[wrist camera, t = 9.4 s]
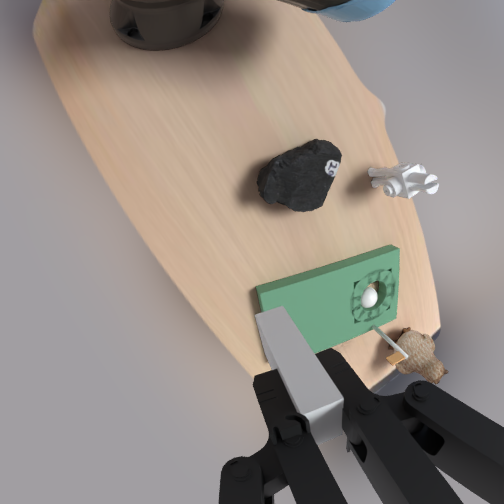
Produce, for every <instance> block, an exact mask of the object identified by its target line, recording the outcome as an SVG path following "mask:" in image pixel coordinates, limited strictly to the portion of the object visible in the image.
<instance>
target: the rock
mask: <svg viewBox="0 0 504 504" xmlns="http://www.w3.org/2000/svg"><path fill="white" fill-rule="evenodd" d="M341 156H342V154H341V152H340V150H339V149H338V148H337V147H336V146H334V145H333V144H332V143H331V142H329V141H326V140H318V139H314V140H312V141H310V142H308V143H307V144H306V145H304V146H302V147H296V148H294V149H293V150H289V151H287V152H285V153H284V154H282V155H281V156H280V155H279V156H277V157H275V158H273V159H272V160H271V161H270V162H269V164H268V165H267V166H266V167H264V168H262V169H261V171H260V173H259V176H258V180H257V185H258V186H259V189H258V191H259V192H260V196H261V197H262V198H263V199H264V200H265V201H266V202H267V203H269V204H274V203H276V202H278V203H280V204H283V205H286V206H287V207H288V208H290V209H292V210H293V211H298V212H299V211H301V212H306V211H313V210H314V209H317V208H319V207H322V206H323V202H324V201H325V198H326V196H327V192H328V191H329V189H330V187H331V184H332V182H333V180H334V178H335V175H336V172H337V170H338V168H339V165H340V162H341Z"/></svg>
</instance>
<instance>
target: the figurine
mask: <svg viewBox="0 0 504 504" xmlns="http://www.w3.org/2000/svg"><path fill="white" fill-rule="evenodd" d="M393 342H394V343H395V344H397V345H398V346H399V347H400V348H401V349H402V350H403V351H404V352H405V353H406V354H407V355H408V358H407V359H404V360H402V361H400V362H398V363H396V364H395V365H396V368H397V369H398V370H399V371H400V372H401V373H403V374H410V373H412V372H416V373H419V374H421V375H422V376H423V377H424V378H425V379H426V380H427V381H428V382H431V383H433V382H434V383H435V384H438V383H439V381H440V379H441V377H442V376H443V375H444V374H447V373H448V371H447V370H445V368H444V366H443V364H442V362H440V361H439V360H438V359H437V358H436V357H435V356H434V350H435V345H434V342H433V340H432V338H431V337H430V336H429V335H427V334H423V335H422V334H421V333H419V332H417V331H414V330H411V331H410V328H408V329H406V328H404V329H403V333H402V335H401V336H400V338H399V339H398V340H396V341H394V340H393ZM388 349H393V350H394V352H393V354H394V353H396V352H398V351H396V350H395V349H394V348H393V347H392V346H391V345H390V347H389V348H388Z"/></svg>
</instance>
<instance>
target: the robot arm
mask: <svg viewBox="0 0 504 504" xmlns="http://www.w3.org/2000/svg"><path fill="white" fill-rule="evenodd" d="M278 1H281V2H284V3H287V4H291V5H293V6H296V7H299V8H301V9H302V10H304V11H306V12H309V13H318V14H321V15H323V16H326V17H329V18H331V19H334V20H337V21H342V22H351V21H361V20H365V19H367V18H370V17H372V16H374V15H376V14H378V13H380V12H381V11H383V10H384V9H386V8H387V7H388V6H390V5H391V4H392V3H393V2H394V1H395V0H278ZM223 5H224V0H112V1H111V6H110V20H111V23H112V26H113V28H114V30H115V32H116V33H117V35H118V36H119V37H120V38H121V39H122V40H123V41H124V42H126V43H127V44H129V45H131V46H134V47H137V48H140V49H146V50H166V49H172V48H177V47H180V46H183V45H186V44H189V43H191V42H193V41H195V40H197V39H199V38H200V37H202V36H203V35H205V34H206V33H207V32H208V31H209V30H211V29H212V27H213V26H214V25H215V24H216V22H217V21H218V19H219V17H220V15H221V12H222V9H223ZM255 318H256V322H257V326H258V329H259V333H260V337H261V341H262V345H263V348H264V352H265V355H266V357H267V360H268V362H269V364H270V366H271V369H272V370H271V371H268V372H265V373H262V374H259V375H256V376H255V377H254V382H253V387H254V390H255V393H256V396H257V399H258V402H259V405H260V408H261V410H262V414H263V416H264V419H265V422H266V425H267V428H268V431H269V439H268V441H267V443H266V445H265V446H264V447H263V448H262V449H261V450H260V451H258V452H256V453H255V454H253V455H252V456H250V457H242V456H241V457H236V458H233V459H231V460H229V461H228V462H227V463H226V464H225V465H224V466H223V468H222V471H221V479H220V492H219V504H274V494H275V493H277V492H278V491H280V490H282V489H283V488H285V487H286V486H288V485H289V486H290V489H291V491H292V494H293V496H294V498H295V501H296V503H297V504H348V503H347V502H346V500H345V498H344V496H343V494H342V492H341V490H340V488H339V486H338V484H337V483H336V481H335V479H334V477H333V475H332V473H331V471H330V470H329V467H328V465H327V464H326V462H325V460H324V457H323V455H322V453H321V451H320V450H319V448H318V446H317V445H319V444H321V443H324V442H326V441H329V440H331V439H333V438H336V437H338V436H340V435H342V431H343V430H344V432H345V434H346V435H347V447H346V449H347V452H350V449H351V450H352V452H353V454H354V455H355V457H356V459H357V460H358V462H359V464H360V466H361V467H362V469H363V471H364V472H365V474H366V476H367V477H368V479H369V481H370V483H371V484H372V486H373V488H374V489H375V491H376V493H377V494H378V496H379V497H380V499H381V501H382V503H383V504H463V503H462V501H461V500H460V498H459V497H458V496H457V494H456V493H455V492H454V490H453V489H452V488H451V486H450V485H449V484H448V482H447V481H446V480H445V478H444V477H443V476H442V475H441V473H440V472H439V471H438V470H437V468H436V467H438V468H439V469H440V470H442V471H443V472H444V473H446V474H447V475H449V476H450V477H452V478H453V479H454V480H456V481H457V482H459V483H460V484H462V485H463V486H464V487H466V488H467V489H469V490H470V491H472V492H473V493H475V494H476V495H478V496H479V497H481V498H482V499H484V500H486V501H487V502H489V503H490V504H504V427H502V426H501V425H499V424H497V423H495V422H494V421H492V420H491V419H489V418H487V417H485V416H484V415H482V414H481V413H479V412H477V411H475V410H474V409H472V408H471V407H469V406H467V405H466V404H464V403H463V402H461V401H459V400H458V399H456V398H454V397H453V396H451V395H450V394H448V393H446V392H445V391H443V390H442V389H440V388H438V387H437V386H435V385H433V384H432V383H430V382H427V381H416V382H413V383H411V384H410V385H408V387H407V389H406V390H405V392H403V393H399V394H395V395H391V396H379V395H377V394H374V393H372V392H371V391H369V390H368V388H367V387H366V386H365V385H364V383H363V382H362V381H361V379H360V378H359V377H358V375H357V374H356V373H355V372H354V370H353V369H352V368H351V366H350V365H349V364H348V362H346V360H345V359H344V357H343V356H342V355H341V353H339V352H338V351H336V350H334V349H332V348H329V349H326V350H324V351H321V352H319V353H316V354H314V352H313V351H312V349H311V348H310V346H309V345H308V343H307V342H306V340H305V339H304V337H303V336H302V334H301V333H300V331H299V329H298V328H297V326H296V325H295V323H294V322H293V320H292V319H291V317H290V316H289V314H288V313H287V311H286V310H285V308H284V307H283V306H280V307H277V308H274V309H271V310H268V311H265V312H262V313H258V314H255ZM435 466H436V467H435Z"/></svg>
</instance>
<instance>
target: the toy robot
mask: <svg viewBox="0 0 504 504" xmlns="http://www.w3.org/2000/svg"><path fill="white" fill-rule="evenodd" d="M368 174H369V176H370V177H377V178H373V180H372V181H371V184H372V187H375V188H376V187H378V186H379V185H384V187H383V191H384V193H385V194H386V195H387V196H390V197H393V198H394V197H395V196H399V197H404V198H408V199H409V198H411V197H412V196H413V195H415V194H417V193H418V192H420V191H421V192H426V193H429V194H433V193H435V192H436V191H437V189H438V186H439V183H430V182H431V181H433V180H435V179H438V178H437V177H436V176H435V175H432V174H427V173H426V170H425V168H424V167H423V166H422V164H420V165H419V164H414V163H403V162H401V163H399V164H398V165H396V166H394V167H392V168H391V169H390V168H387V167H384V168H380V169H375V168H371V167H370V168H369V170H368ZM385 176H387V177H385Z"/></svg>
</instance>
